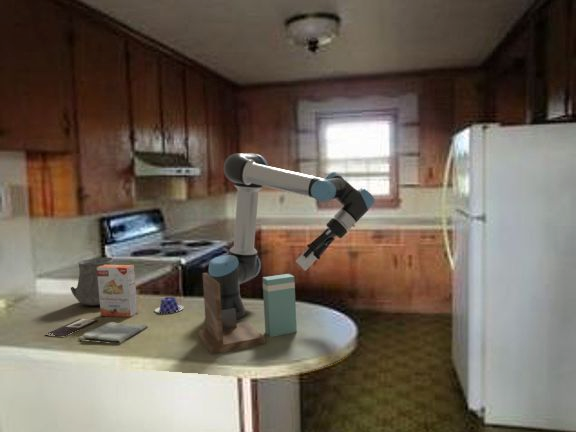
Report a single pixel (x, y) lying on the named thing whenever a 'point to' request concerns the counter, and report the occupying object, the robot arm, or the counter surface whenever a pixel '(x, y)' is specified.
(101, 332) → the dish towel
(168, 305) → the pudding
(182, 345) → the counter surface
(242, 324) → the brown angled piece
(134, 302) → the cracker box
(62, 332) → the chocolate bar
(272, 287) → the book
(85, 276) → the vessel
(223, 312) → the bookend
